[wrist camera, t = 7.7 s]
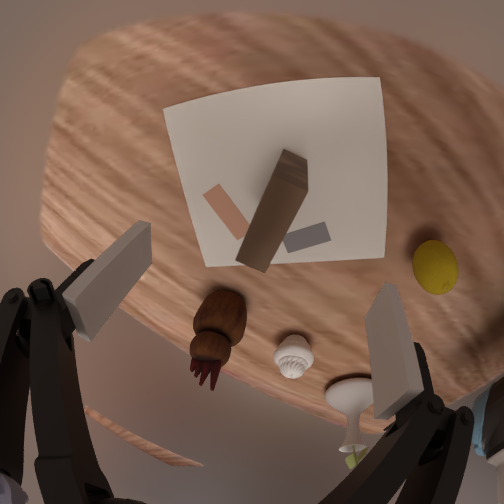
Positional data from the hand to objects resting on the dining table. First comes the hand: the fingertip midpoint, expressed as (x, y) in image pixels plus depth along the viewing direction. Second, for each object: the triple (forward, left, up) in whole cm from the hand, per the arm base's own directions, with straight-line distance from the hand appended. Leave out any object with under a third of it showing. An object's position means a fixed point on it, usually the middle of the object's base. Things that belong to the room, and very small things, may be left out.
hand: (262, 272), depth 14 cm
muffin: (-26, +1, -17) cm, 31 cm away
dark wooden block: (-2, +2, -15) cm, 15 cm away
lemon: (-10, -17, -17) cm, 26 cm away
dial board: (0, 0, -17) cm, 17 cm away
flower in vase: (-41, -10, -17) cm, 45 cm away
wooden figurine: (-17, +10, -17) cm, 26 cm away
